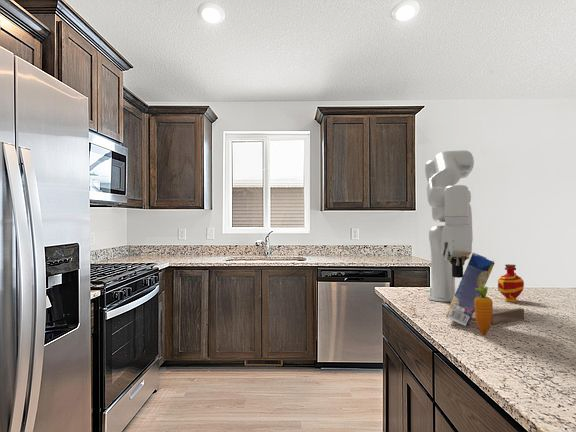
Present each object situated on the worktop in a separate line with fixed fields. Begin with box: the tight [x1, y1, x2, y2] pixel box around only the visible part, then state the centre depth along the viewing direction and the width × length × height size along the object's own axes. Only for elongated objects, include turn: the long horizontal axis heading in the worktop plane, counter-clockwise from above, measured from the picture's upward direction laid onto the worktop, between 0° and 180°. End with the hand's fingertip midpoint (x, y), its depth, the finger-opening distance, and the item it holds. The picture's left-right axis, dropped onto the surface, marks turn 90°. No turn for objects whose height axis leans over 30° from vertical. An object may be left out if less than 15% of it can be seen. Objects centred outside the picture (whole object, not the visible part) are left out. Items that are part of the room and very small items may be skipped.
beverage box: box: [445, 252, 495, 328], centre depth 144 cm, size 7×11×22 cm, turn 156°
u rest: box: [470, 307, 525, 326], centre depth 153 cm, size 17×16×4 cm
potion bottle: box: [497, 263, 525, 303], centre depth 184 cm, size 10×10×15 cm
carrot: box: [474, 284, 494, 337], centre depth 128 cm, size 5×5×15 cm
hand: (457, 277), depth 146 cm, fingers closed
